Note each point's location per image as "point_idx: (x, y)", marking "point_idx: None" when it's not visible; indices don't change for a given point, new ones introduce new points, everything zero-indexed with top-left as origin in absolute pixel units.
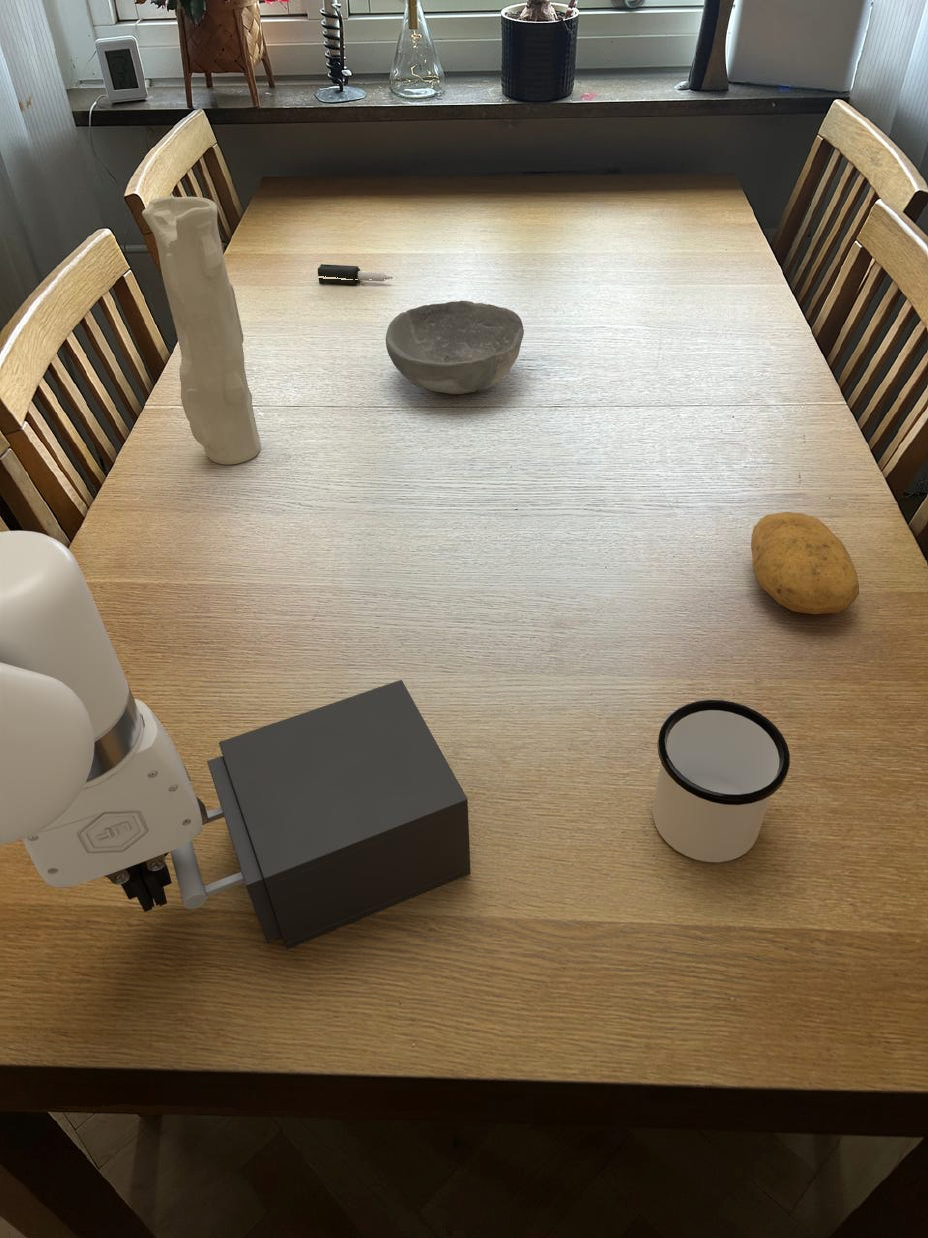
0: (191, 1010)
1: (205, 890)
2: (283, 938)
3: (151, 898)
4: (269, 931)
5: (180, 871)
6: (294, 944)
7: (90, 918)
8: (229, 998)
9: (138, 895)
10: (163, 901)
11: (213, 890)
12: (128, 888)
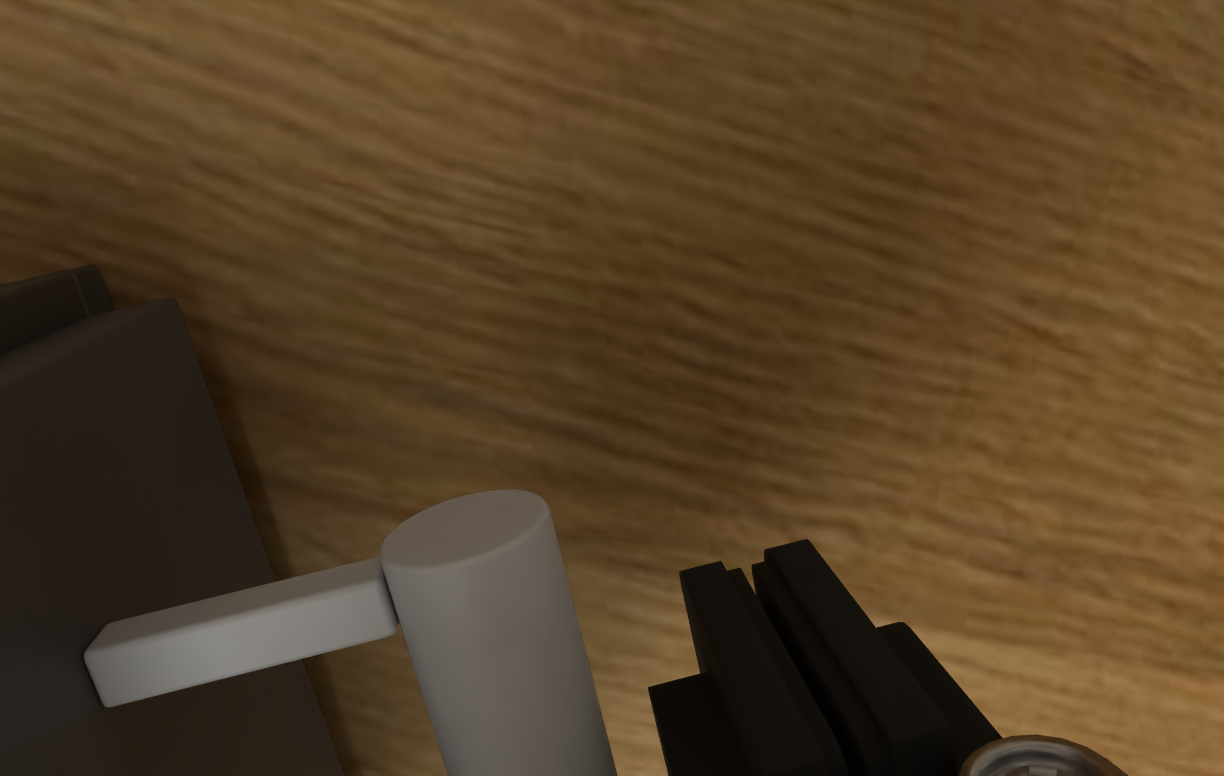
0: (578, 45)
1: (381, 598)
2: (44, 284)
3: (769, 612)
4: (99, 323)
5: (566, 770)
6: (42, 276)
7: (1011, 584)
8: (390, 64)
9: (862, 633)
10: (698, 583)
11: (323, 590)
12: (927, 693)
